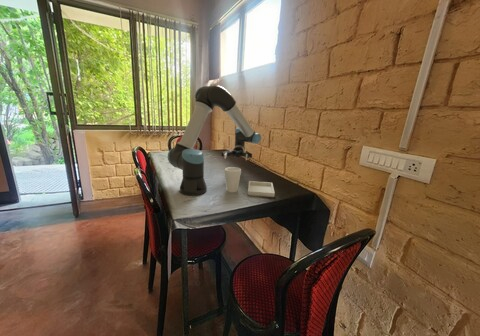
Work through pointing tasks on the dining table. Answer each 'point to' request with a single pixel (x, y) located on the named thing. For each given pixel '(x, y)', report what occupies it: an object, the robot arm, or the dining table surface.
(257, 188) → the tray
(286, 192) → the dining table surface
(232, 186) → the foam cup
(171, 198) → the dining table surface
